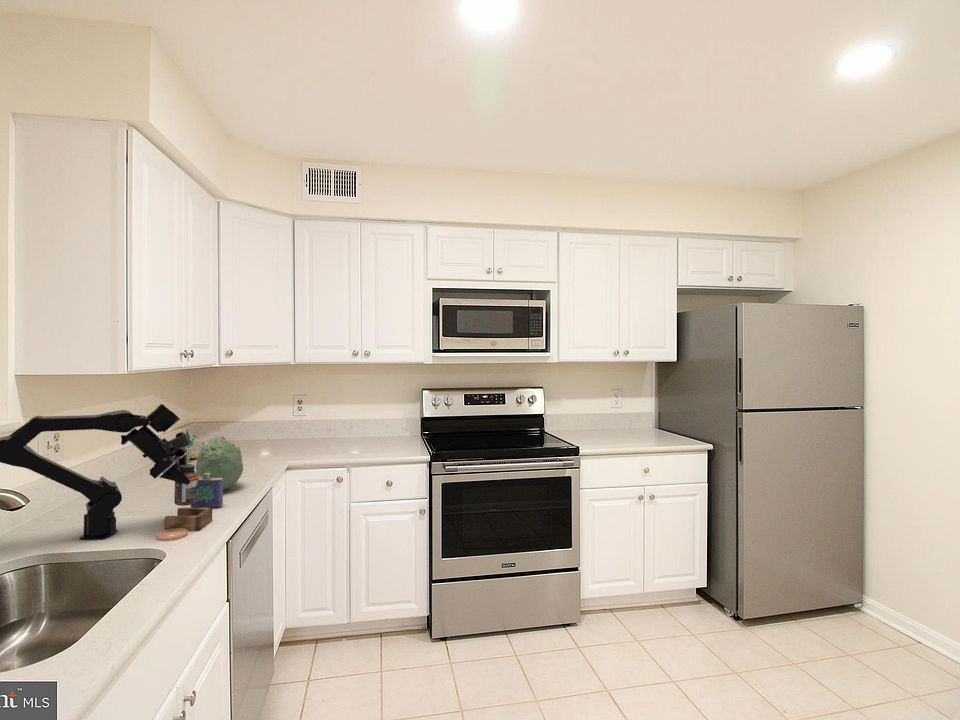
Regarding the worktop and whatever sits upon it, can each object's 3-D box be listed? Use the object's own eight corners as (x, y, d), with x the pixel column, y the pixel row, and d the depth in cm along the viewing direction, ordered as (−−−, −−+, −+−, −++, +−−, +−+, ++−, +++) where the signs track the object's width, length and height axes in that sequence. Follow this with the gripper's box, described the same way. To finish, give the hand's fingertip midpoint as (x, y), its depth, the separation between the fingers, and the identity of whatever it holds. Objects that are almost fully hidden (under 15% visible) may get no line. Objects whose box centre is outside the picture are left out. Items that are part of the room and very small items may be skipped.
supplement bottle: (171, 502, 155) (172, 464, 155) (193, 499, 159) (194, 462, 159) (177, 507, 151) (178, 468, 151) (199, 503, 155) (201, 465, 155)
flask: (224, 506, 175) (224, 471, 175) (220, 509, 172) (220, 474, 172) (193, 506, 174) (193, 471, 174) (188, 509, 171) (189, 474, 171)
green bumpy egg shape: (247, 483, 205) (248, 432, 204) (236, 496, 186) (237, 440, 186) (203, 484, 201) (204, 432, 201) (188, 498, 183) (189, 441, 182)
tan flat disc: (150, 540, 143) (150, 537, 143) (164, 531, 150) (164, 527, 150) (179, 540, 144) (179, 537, 143) (192, 531, 151) (192, 527, 151)
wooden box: (164, 530, 151) (164, 517, 150) (179, 520, 159) (179, 507, 159) (199, 530, 151) (199, 517, 151) (212, 520, 160) (212, 507, 160)
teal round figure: (169, 464, 233) (170, 430, 234) (179, 460, 250) (180, 428, 251) (193, 463, 236) (194, 429, 237) (202, 459, 253) (202, 428, 254)
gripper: (164, 429, 145) (207, 468, 148) (180, 420, 162) (219, 455, 166) (130, 458, 142) (175, 497, 146) (151, 446, 160) (190, 480, 164)
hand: (191, 480), depth 155 cm, fingers closed on supplement bottle, 6 cm apart
